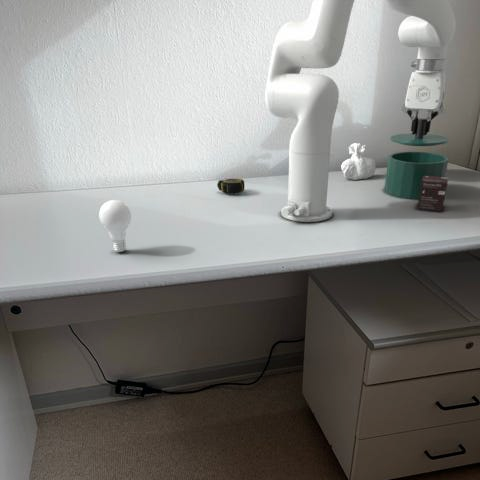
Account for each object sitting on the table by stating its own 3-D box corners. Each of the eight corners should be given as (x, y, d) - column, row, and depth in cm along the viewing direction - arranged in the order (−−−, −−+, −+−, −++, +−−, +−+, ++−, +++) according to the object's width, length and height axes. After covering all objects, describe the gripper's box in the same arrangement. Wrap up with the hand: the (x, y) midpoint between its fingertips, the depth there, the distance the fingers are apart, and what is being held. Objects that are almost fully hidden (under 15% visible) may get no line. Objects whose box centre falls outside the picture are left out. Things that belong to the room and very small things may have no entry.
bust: (371, 182, 159) (362, 150, 160) (384, 171, 152) (374, 137, 153) (338, 186, 156) (330, 153, 157) (349, 175, 148) (340, 140, 150)
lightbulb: (137, 246, 107) (131, 195, 102) (133, 257, 102) (126, 204, 96) (108, 246, 107) (100, 196, 102) (102, 258, 102) (93, 205, 96)
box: (416, 209, 126) (421, 180, 123) (418, 203, 131) (423, 175, 127) (441, 212, 124) (447, 182, 121) (443, 205, 129) (448, 177, 125)
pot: (434, 202, 131) (441, 166, 127) (376, 194, 139) (380, 159, 134) (448, 189, 143) (454, 154, 138) (393, 182, 150) (398, 149, 146)
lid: (440, 149, 141) (444, 124, 138) (382, 144, 149) (385, 120, 146) (453, 139, 154) (457, 116, 150) (399, 135, 162) (402, 113, 158)
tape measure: (238, 189, 147) (238, 176, 145) (248, 194, 141) (248, 181, 139) (217, 191, 144) (216, 178, 143) (226, 197, 139) (225, 184, 137)
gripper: (397, 66, 142) (389, 134, 151) (456, 67, 135) (444, 138, 144) (405, 65, 148) (396, 130, 157) (462, 65, 140) (450, 134, 149)
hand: (419, 133), depth 150 cm, fingers closed on lid, 2 cm apart
